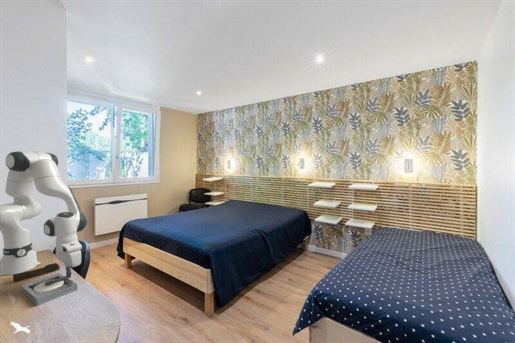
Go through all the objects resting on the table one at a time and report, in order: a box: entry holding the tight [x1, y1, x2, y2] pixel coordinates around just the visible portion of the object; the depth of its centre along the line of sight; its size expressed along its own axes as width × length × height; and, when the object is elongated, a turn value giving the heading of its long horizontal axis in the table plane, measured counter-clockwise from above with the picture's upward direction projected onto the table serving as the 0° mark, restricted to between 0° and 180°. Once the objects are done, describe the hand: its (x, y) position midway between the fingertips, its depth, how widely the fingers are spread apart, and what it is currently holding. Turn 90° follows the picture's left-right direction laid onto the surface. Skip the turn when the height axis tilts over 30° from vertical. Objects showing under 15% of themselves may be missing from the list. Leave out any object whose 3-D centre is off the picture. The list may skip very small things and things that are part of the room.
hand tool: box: [12, 262, 61, 283], centre depth 134 cm, size 19×4×5 cm, turn 134°
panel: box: [20, 272, 78, 307], centre depth 119 cm, size 22×16×3 cm
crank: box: [34, 266, 72, 295], centre depth 120 cm, size 11×14×8 cm
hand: (68, 270), depth 126 cm, fingers closed
